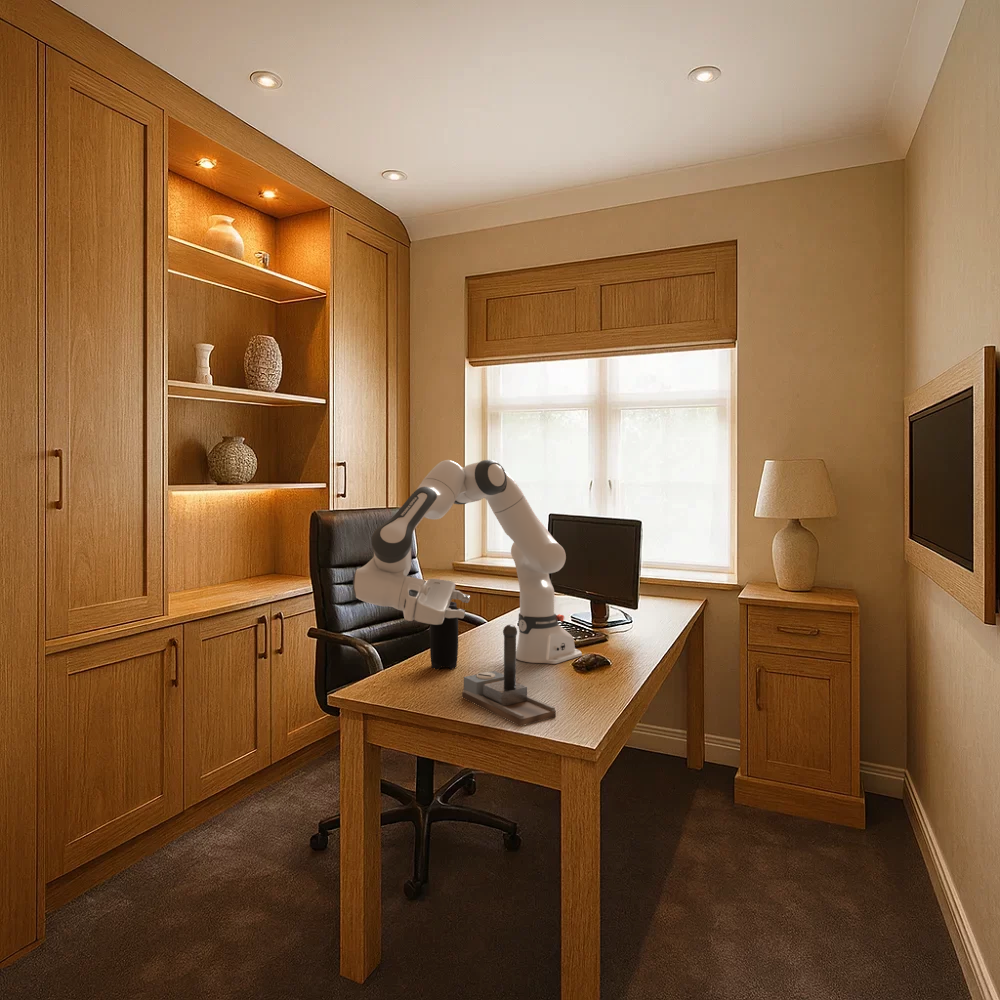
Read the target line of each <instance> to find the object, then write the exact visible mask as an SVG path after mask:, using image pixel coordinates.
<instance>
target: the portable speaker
mask: <svg viewBox="0 0 1000 1000" xmlns="http://www.w3.org/2000/svg"><path fill="white" fill-rule="evenodd" d="M448 608H451V609H452V610H458V606H457V602H455V601H451V602H450V605H449V607H448ZM458 651H459V618H457V617H456V618H444V620H443V623H442V624H439V625H433V624H429V652H430V662H431V663H430V664H431V669H433V668H435V669H434V670H437V669H439V670H440V668H448V669H449V670H453V669H452V668H454V669H456V668H457V667H458V666H457V664H458V655H459V654H458V653H459V652H458ZM455 667H456V668H455Z"/></svg>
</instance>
